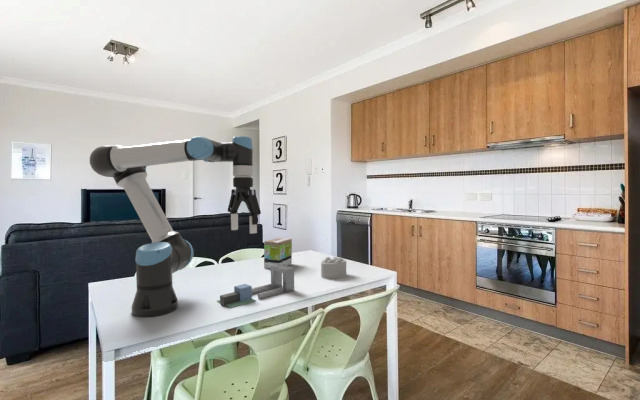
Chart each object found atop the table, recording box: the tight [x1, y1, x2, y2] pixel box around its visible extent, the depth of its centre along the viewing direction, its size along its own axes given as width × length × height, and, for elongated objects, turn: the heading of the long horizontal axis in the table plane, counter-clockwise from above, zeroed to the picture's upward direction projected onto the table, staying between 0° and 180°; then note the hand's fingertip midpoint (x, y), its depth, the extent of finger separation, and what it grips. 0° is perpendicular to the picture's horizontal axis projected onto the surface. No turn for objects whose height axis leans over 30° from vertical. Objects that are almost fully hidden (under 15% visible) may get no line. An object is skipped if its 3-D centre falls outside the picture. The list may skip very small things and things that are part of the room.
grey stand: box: [252, 264, 295, 300], centre depth 143 cm, size 17×10×10 cm, turn 134°
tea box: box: [263, 237, 293, 270], centre depth 189 cm, size 15×10×15 cm, turn 160°
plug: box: [219, 283, 253, 306], centre depth 132 cm, size 12×4×5 cm, turn 134°
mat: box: [217, 298, 257, 309], centre depth 132 cm, size 11×10×1 cm
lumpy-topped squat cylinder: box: [320, 256, 347, 280], centre depth 169 cm, size 10×13×9 cm
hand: (243, 231), depth 133 cm, fingers open, 13 cm apart
